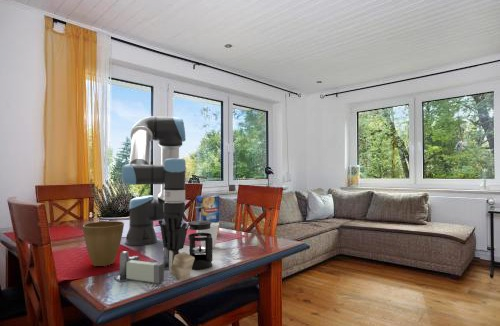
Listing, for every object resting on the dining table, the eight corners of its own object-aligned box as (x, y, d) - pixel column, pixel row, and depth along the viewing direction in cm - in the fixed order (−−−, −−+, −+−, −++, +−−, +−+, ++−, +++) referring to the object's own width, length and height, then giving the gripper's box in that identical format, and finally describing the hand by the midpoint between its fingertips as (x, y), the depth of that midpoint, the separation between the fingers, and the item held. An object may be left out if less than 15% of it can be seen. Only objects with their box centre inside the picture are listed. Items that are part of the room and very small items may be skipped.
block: (169, 273, 108) (174, 255, 107) (178, 269, 113) (183, 251, 112) (180, 280, 106) (186, 261, 105) (189, 275, 111) (194, 257, 110)
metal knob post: (120, 282, 104) (120, 255, 104) (112, 278, 108) (112, 252, 108) (144, 276, 110) (144, 250, 110) (136, 272, 114) (136, 247, 114)
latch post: (164, 269, 117) (164, 248, 117) (159, 267, 119) (159, 246, 119) (174, 267, 119) (174, 246, 120) (168, 265, 122) (168, 244, 122)
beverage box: (219, 234, 177) (219, 195, 178) (203, 237, 170) (203, 197, 170) (212, 232, 182) (212, 195, 183) (196, 235, 175) (196, 196, 175)
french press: (181, 265, 121) (181, 206, 122) (200, 260, 128) (200, 204, 129) (200, 272, 113) (200, 209, 114) (220, 266, 120) (220, 206, 121)
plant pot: (121, 268, 119) (122, 226, 119) (78, 271, 114) (78, 228, 115) (125, 257, 133) (125, 219, 133) (87, 260, 129) (87, 221, 129)
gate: (126, 278, 105) (126, 261, 105) (131, 276, 108) (131, 259, 108) (159, 283, 101) (159, 265, 101) (163, 280, 104) (163, 263, 104)
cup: (215, 250, 143) (215, 226, 144) (195, 249, 145) (195, 225, 146) (221, 245, 153) (221, 222, 153) (202, 244, 155) (202, 222, 155)
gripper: (153, 201, 111) (152, 268, 110) (181, 203, 105) (179, 274, 104) (168, 200, 117) (167, 263, 117) (195, 202, 111) (194, 268, 111)
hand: (173, 268), depth 110 cm, fingers closed
